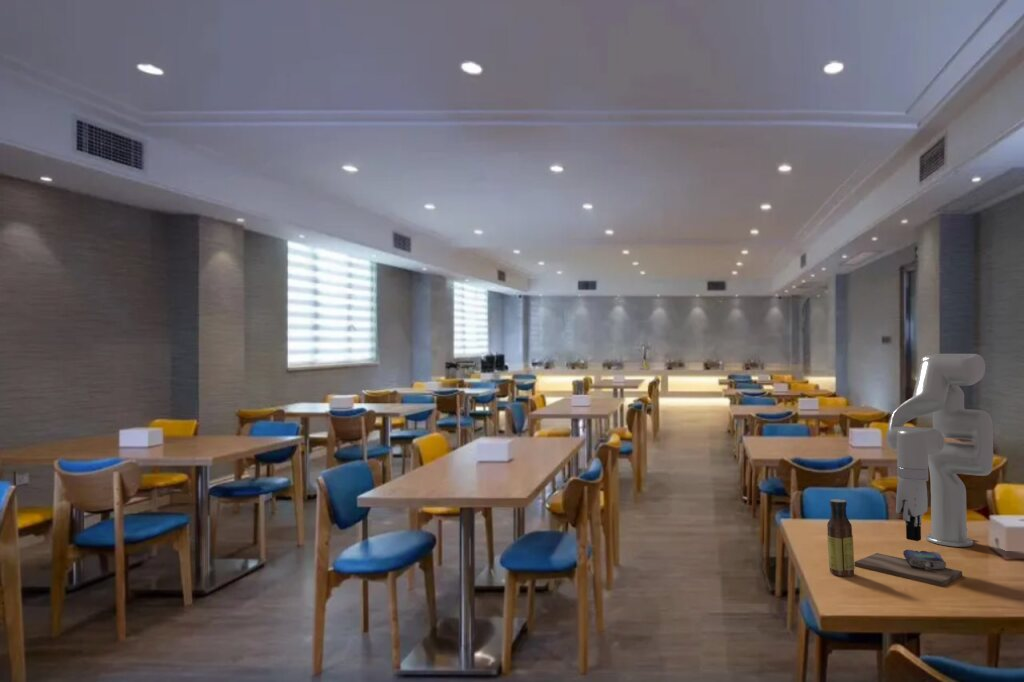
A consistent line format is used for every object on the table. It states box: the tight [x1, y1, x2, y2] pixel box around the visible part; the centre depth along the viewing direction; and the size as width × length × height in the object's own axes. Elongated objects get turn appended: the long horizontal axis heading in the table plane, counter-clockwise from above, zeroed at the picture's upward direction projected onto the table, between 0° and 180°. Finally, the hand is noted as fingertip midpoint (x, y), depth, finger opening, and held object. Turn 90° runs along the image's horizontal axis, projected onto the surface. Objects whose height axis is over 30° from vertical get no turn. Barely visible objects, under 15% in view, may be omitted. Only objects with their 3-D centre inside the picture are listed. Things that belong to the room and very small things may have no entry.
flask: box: [903, 549, 947, 570], centre depth 187 cm, size 9×3×11 cm
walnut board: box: [854, 552, 963, 587], centre depth 186 cm, size 14×22×1 cm, turn 38°
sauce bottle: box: [827, 498, 856, 578], centre depth 184 cm, size 6×6×20 cm
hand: (913, 539), depth 189 cm, fingers closed
